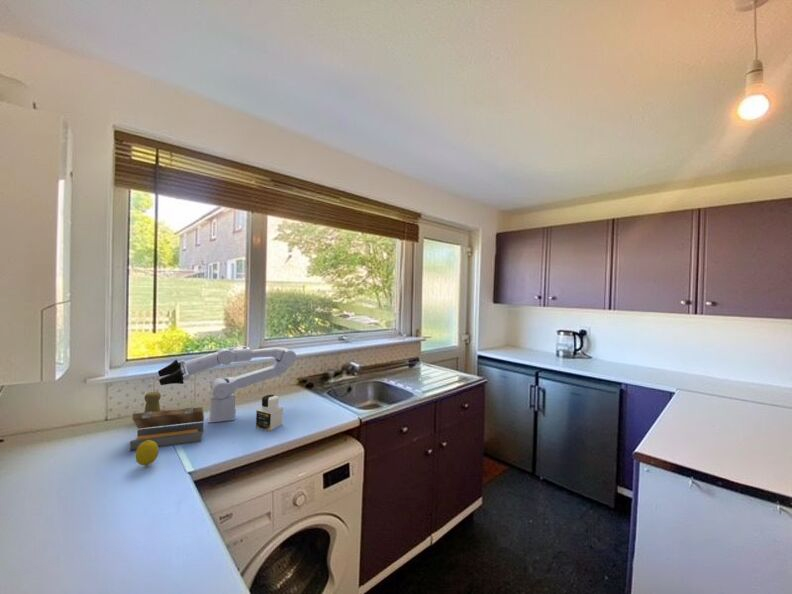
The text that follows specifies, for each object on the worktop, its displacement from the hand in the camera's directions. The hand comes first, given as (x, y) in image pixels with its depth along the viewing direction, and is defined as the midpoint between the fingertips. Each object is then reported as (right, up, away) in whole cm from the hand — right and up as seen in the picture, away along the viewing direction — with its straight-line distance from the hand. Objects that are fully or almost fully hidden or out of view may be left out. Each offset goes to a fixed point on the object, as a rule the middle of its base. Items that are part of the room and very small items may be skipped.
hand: (159, 378), depth 126 cm
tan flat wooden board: (+9, -13, -7) cm, 18 cm away
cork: (-8, -19, +8) cm, 22 cm away
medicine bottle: (+38, -21, +7) cm, 44 cm away
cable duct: (+9, -20, -7) cm, 23 cm away
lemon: (+13, -21, -24) cm, 35 cm away
